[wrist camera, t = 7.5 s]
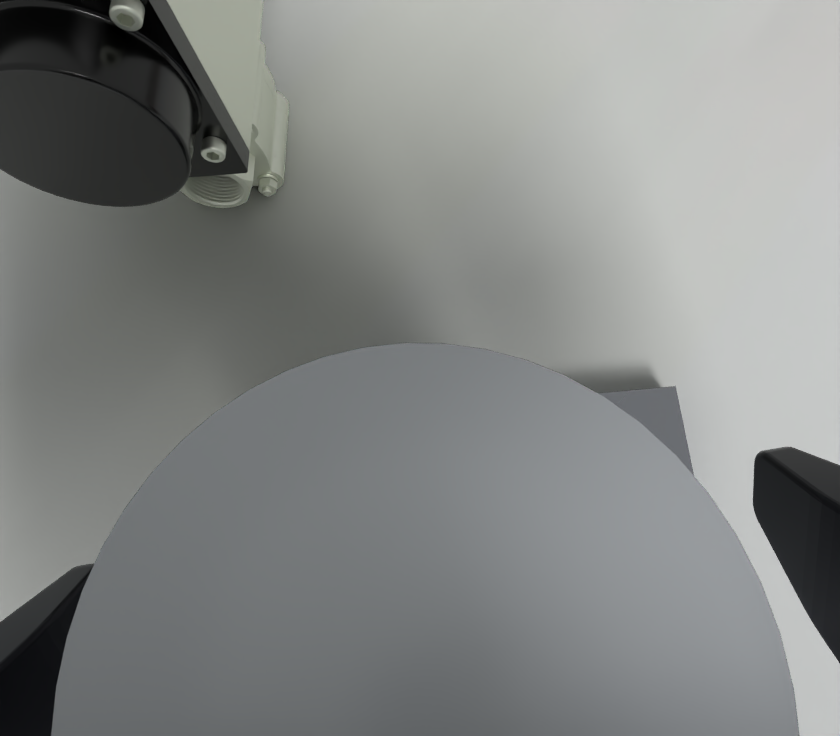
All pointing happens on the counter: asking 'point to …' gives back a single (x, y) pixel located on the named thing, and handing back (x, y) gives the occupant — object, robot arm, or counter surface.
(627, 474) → the grey cylinder
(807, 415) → the counter surface
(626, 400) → the flange plate
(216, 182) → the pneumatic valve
